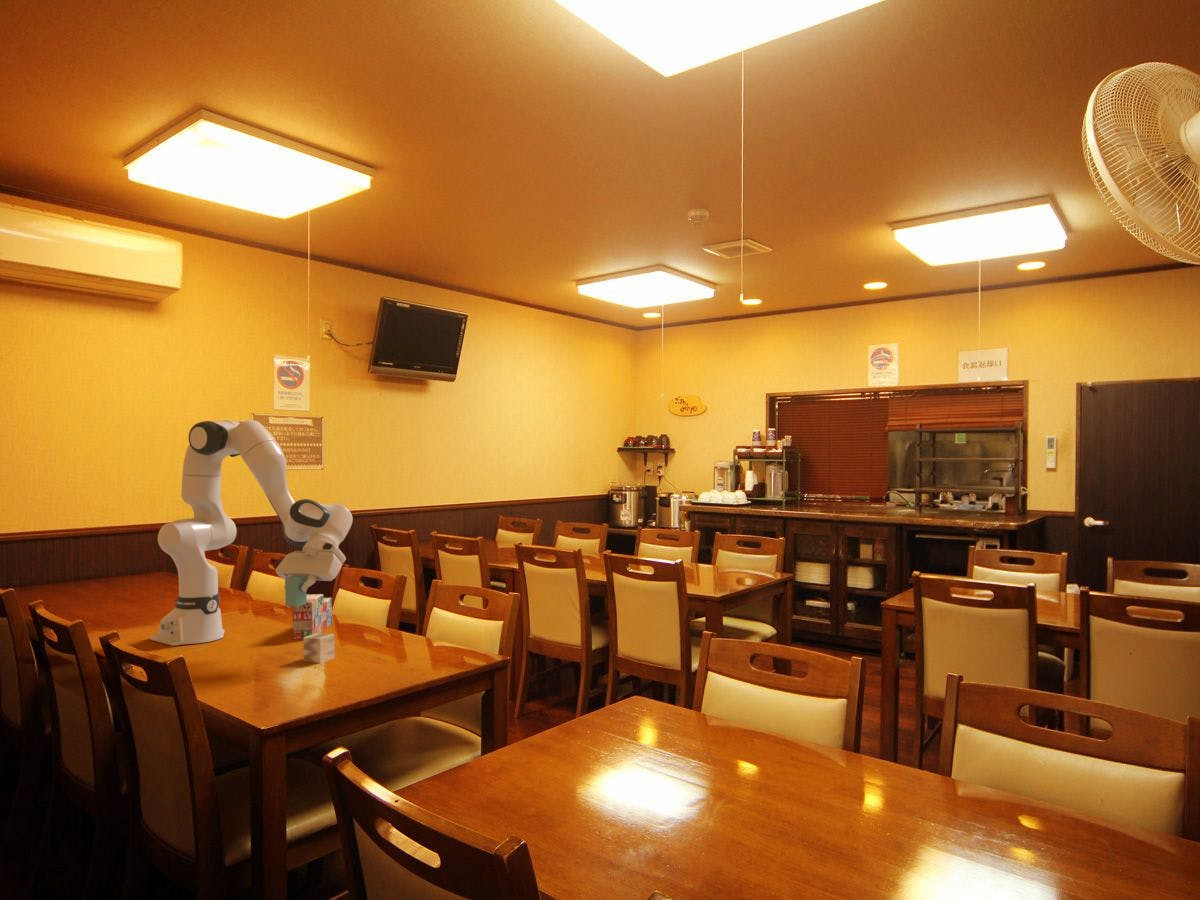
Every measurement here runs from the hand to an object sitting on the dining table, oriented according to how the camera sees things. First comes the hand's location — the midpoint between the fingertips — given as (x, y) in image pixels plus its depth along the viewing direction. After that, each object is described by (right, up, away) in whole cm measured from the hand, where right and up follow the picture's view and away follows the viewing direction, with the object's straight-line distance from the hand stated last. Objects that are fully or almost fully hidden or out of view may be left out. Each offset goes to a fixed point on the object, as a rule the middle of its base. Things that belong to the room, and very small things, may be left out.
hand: (294, 590), depth 216 cm
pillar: (0, -4, 0) cm, 4 cm away
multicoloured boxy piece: (-8, -21, +36) cm, 43 cm away
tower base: (+6, -21, +2) cm, 22 cm away
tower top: (+6, -17, +2) cm, 18 cm away
